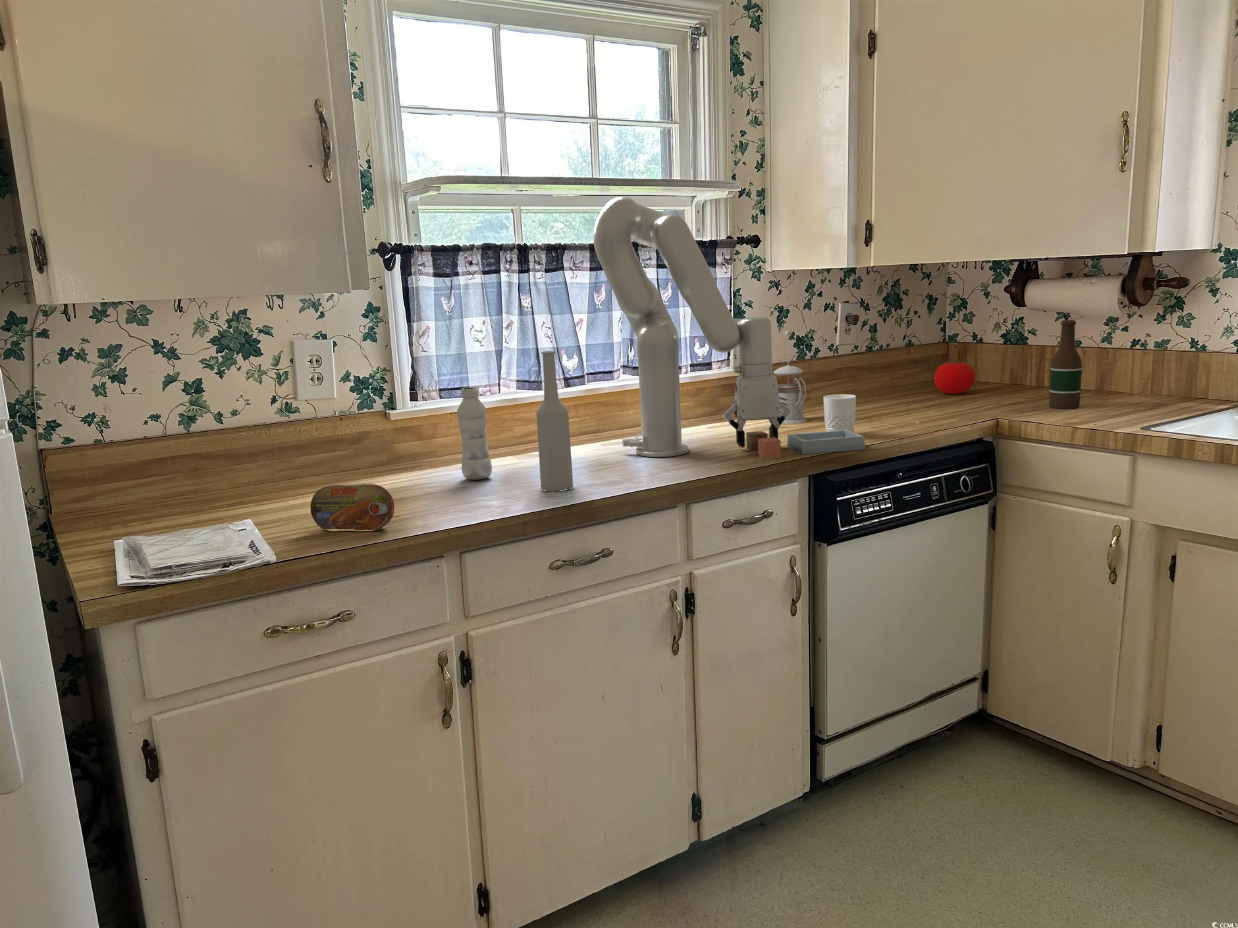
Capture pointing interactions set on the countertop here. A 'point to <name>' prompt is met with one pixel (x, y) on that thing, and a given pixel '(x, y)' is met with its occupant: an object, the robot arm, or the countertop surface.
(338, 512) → the tin
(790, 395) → the french press
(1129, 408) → the countertop surface
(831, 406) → the white cup
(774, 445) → the block red
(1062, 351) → the beer bottle
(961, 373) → the tomato
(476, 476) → the plastic bottle
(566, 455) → the bottle
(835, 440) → the dish
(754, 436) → the block walnut
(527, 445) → the countertop surface
